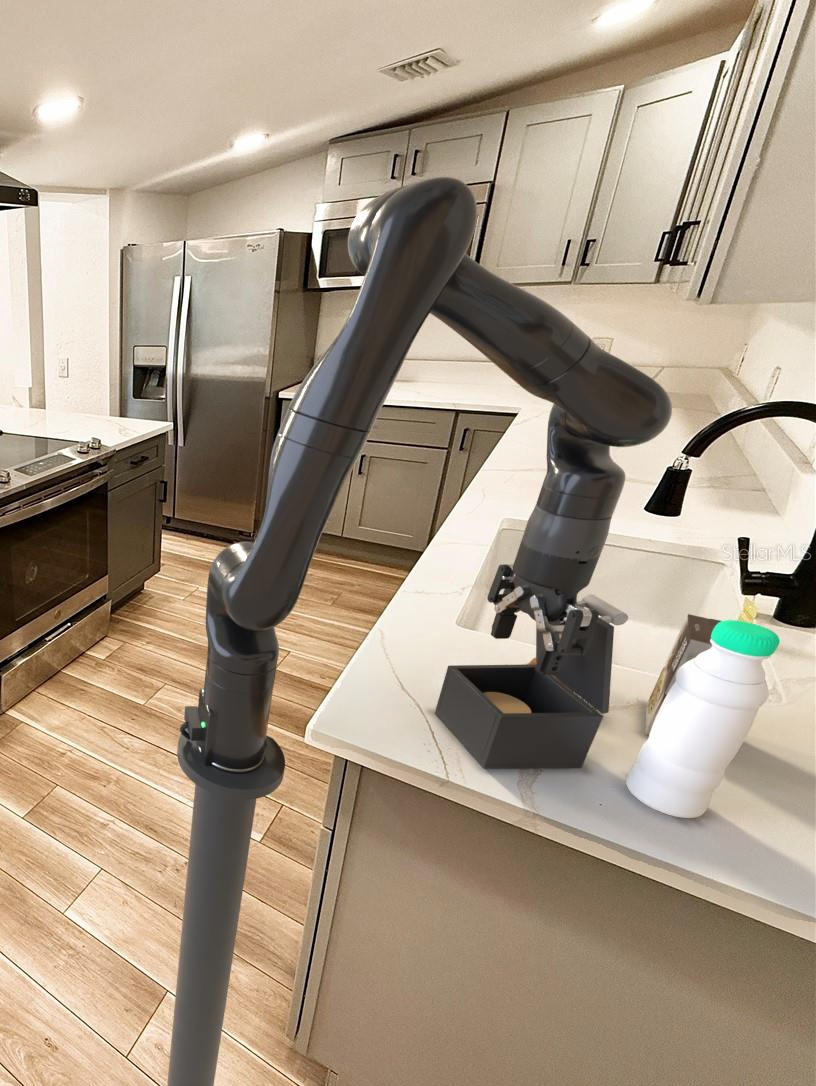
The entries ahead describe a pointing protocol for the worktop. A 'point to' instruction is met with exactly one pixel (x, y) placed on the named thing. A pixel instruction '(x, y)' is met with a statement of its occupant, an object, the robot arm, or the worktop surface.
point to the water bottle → (703, 721)
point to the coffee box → (680, 660)
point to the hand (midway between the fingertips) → (521, 654)
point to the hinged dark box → (517, 717)
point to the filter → (507, 703)
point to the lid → (590, 656)
